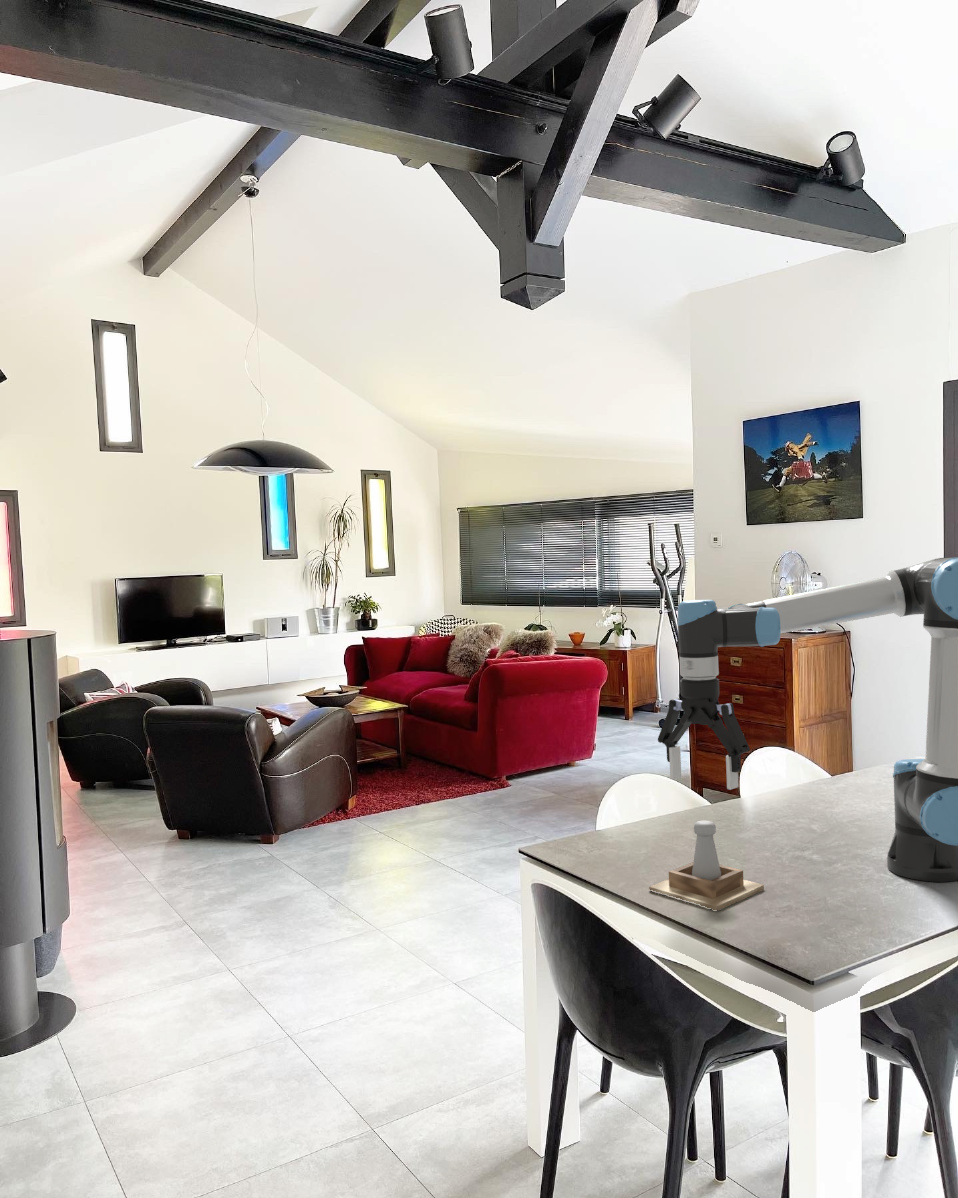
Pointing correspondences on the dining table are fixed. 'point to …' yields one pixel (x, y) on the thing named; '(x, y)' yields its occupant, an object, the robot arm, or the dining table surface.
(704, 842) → the salt shaker
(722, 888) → the collar board
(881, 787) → the dining table surface
